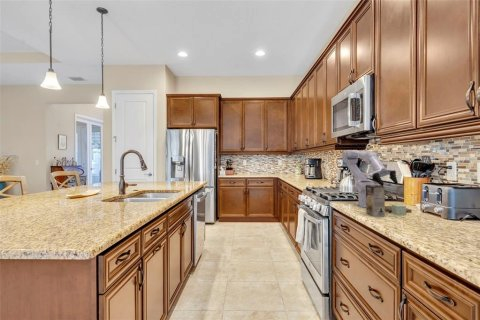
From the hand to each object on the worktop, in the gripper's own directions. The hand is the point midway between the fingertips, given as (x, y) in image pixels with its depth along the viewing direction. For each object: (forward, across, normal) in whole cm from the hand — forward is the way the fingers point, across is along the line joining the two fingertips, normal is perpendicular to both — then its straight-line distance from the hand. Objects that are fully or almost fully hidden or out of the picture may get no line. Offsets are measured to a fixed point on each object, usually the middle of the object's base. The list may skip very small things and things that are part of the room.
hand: (389, 184), depth 144 cm
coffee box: (+11, -11, +11) cm, 19 cm away
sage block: (+12, +2, +12) cm, 17 cm away
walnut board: (+5, +6, +19) cm, 20 cm away
